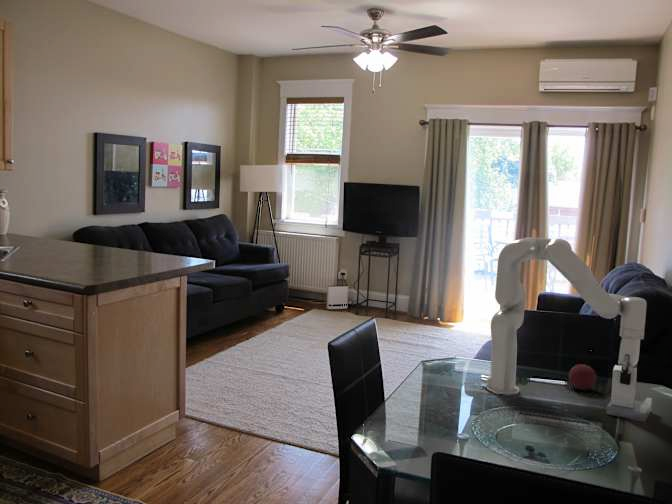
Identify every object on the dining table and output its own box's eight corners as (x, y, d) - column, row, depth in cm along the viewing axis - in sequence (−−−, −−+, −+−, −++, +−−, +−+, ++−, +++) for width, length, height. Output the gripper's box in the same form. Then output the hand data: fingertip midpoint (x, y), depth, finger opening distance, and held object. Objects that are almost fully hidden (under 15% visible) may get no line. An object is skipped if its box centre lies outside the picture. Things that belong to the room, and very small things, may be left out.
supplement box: (633, 408, 204) (636, 372, 203) (610, 404, 208) (612, 369, 207) (635, 402, 211) (637, 367, 209) (612, 398, 214) (614, 364, 213)
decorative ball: (568, 384, 240) (570, 359, 239) (595, 387, 236) (597, 363, 235) (567, 391, 231) (568, 366, 230) (595, 395, 226) (596, 369, 225)
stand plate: (606, 413, 207) (607, 400, 207) (614, 404, 217) (615, 391, 216) (644, 422, 200) (645, 407, 200) (650, 412, 210) (651, 398, 209)
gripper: (625, 326, 215) (621, 372, 217) (614, 335, 201) (610, 384, 203) (648, 330, 211) (644, 377, 212) (638, 339, 197) (634, 389, 199)
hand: (627, 380), depth 208 cm, fingers open, 9 cm apart
